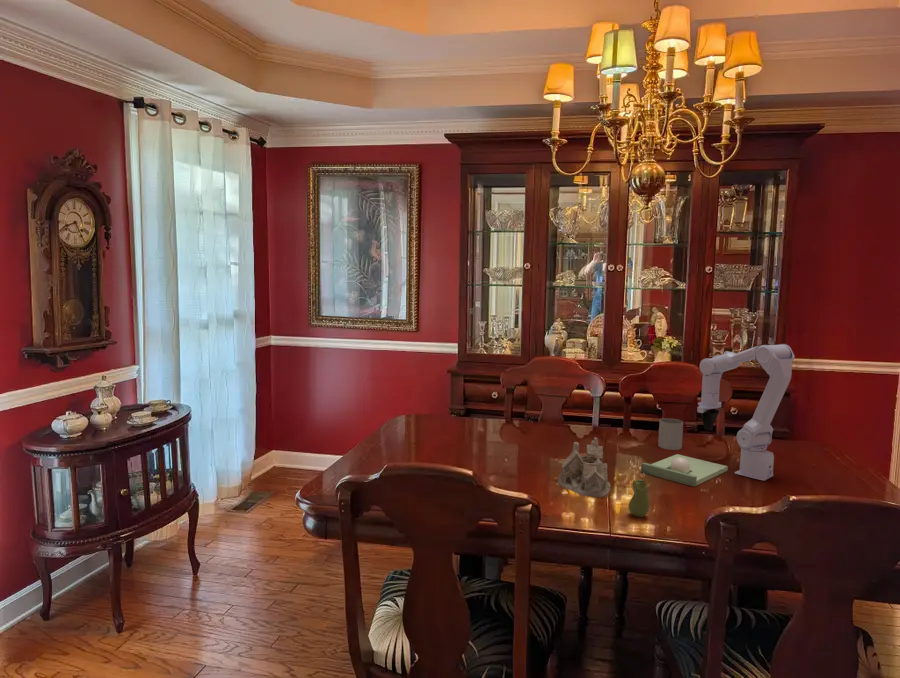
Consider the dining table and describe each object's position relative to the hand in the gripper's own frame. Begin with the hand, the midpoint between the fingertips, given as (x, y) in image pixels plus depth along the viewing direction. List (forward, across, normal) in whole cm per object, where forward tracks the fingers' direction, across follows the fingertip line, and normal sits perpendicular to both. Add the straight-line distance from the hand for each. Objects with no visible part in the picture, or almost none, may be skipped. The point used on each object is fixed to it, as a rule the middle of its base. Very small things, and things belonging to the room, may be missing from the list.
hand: (708, 429), depth 221 cm
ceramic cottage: (+11, +58, -12) cm, 60 cm away
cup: (+11, -4, -16) cm, 20 cm away
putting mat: (+10, +20, +2) cm, 23 cm away
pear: (+11, +66, +12) cm, 68 cm away
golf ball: (+7, +26, +3) cm, 27 cm away
